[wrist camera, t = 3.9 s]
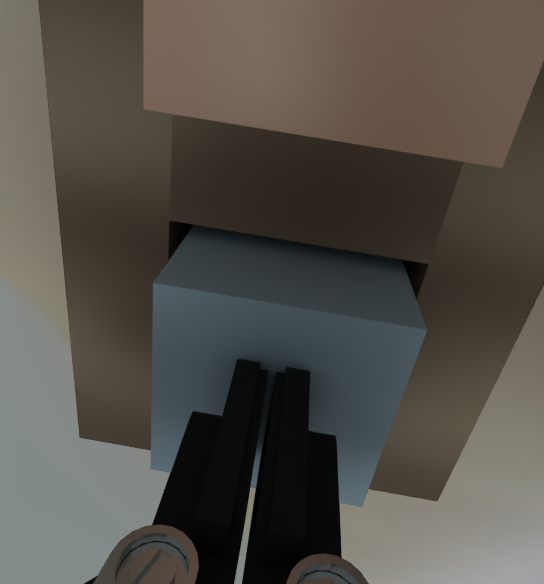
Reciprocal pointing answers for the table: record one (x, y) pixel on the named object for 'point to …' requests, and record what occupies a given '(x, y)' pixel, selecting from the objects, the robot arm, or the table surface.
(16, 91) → the table surface
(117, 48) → the key panel
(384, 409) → the slate key
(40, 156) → the table surface
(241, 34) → the terracotta key
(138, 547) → the robot arm
